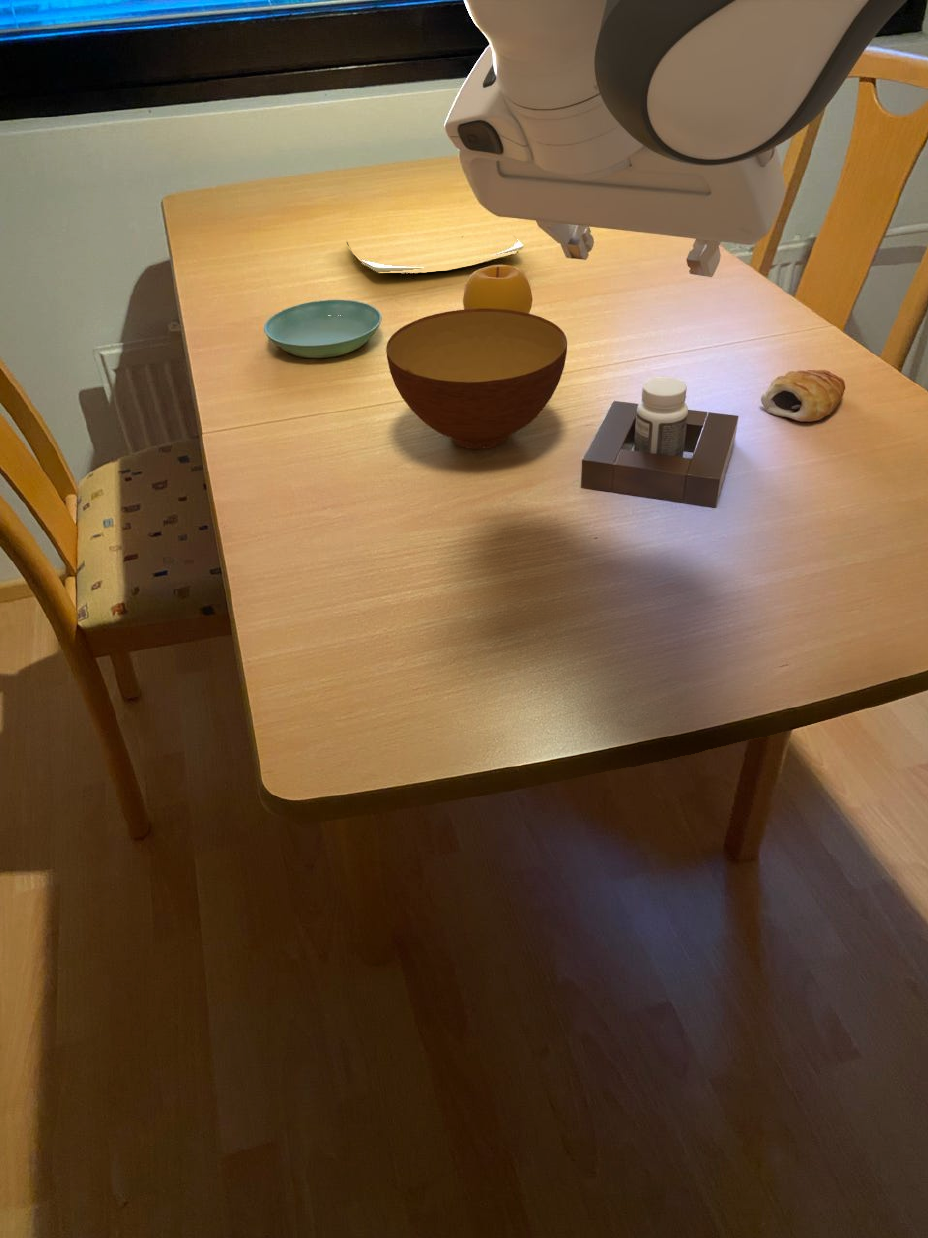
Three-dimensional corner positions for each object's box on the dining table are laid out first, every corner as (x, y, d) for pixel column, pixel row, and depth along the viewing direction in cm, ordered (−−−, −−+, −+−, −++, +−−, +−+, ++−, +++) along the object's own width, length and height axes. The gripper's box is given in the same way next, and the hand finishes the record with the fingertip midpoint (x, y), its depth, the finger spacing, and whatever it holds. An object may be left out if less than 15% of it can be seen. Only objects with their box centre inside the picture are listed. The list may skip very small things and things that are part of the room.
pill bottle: (685, 457, 91) (695, 377, 86) (677, 481, 88) (687, 399, 83) (637, 451, 93) (644, 371, 88) (627, 474, 89) (634, 393, 84)
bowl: (374, 415, 101) (364, 326, 95) (523, 384, 105) (523, 297, 99) (426, 494, 88) (419, 396, 82) (594, 455, 93) (599, 359, 86)
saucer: (290, 316, 125) (287, 297, 123) (396, 321, 122) (395, 301, 120) (249, 362, 113) (245, 341, 112) (364, 368, 111) (362, 347, 109)
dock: (734, 442, 93) (738, 415, 91) (715, 507, 84) (720, 479, 82) (611, 426, 97) (612, 400, 95) (580, 487, 88) (581, 459, 86)
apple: (521, 356, 112) (520, 282, 106) (454, 349, 114) (450, 277, 108) (540, 329, 118) (540, 257, 112) (476, 323, 120) (474, 253, 114)
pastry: (803, 381, 103) (810, 348, 101) (859, 400, 99) (868, 366, 97) (754, 409, 98) (760, 376, 96) (811, 431, 94) (818, 396, 92)
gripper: (792, 48, 48) (809, 238, 59) (466, 46, 58) (535, 209, 69) (745, 146, 46) (771, 319, 58) (421, 126, 56) (499, 278, 68)
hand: (641, 259), depth 64 cm, fingers open, 8 cm apart
